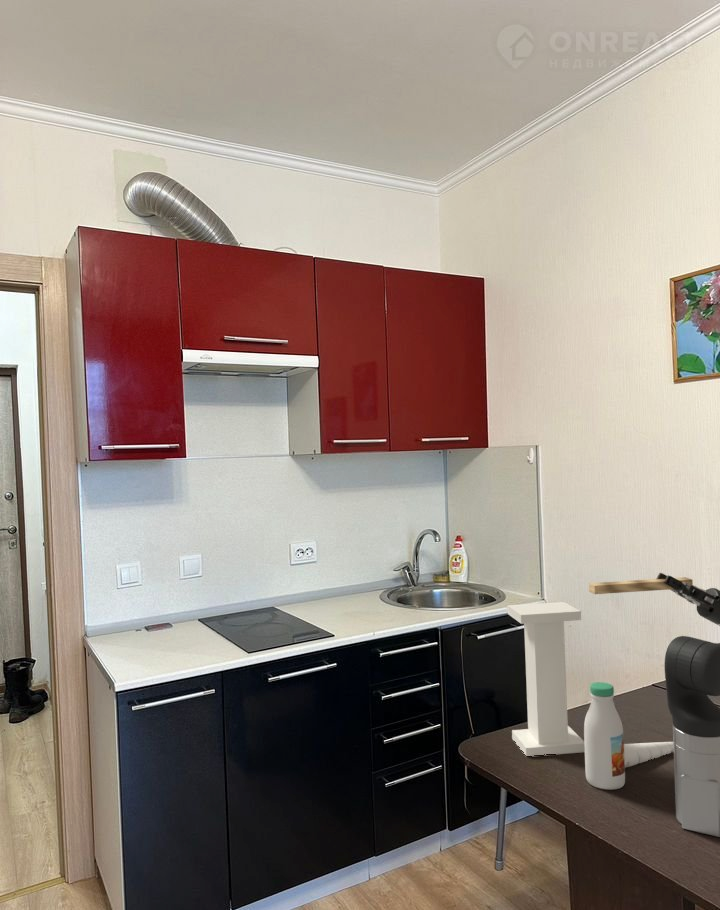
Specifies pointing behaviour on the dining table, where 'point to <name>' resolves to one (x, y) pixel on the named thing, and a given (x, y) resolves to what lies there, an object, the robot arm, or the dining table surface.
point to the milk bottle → (604, 740)
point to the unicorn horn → (645, 752)
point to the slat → (633, 586)
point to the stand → (546, 679)
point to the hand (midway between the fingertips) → (662, 577)
